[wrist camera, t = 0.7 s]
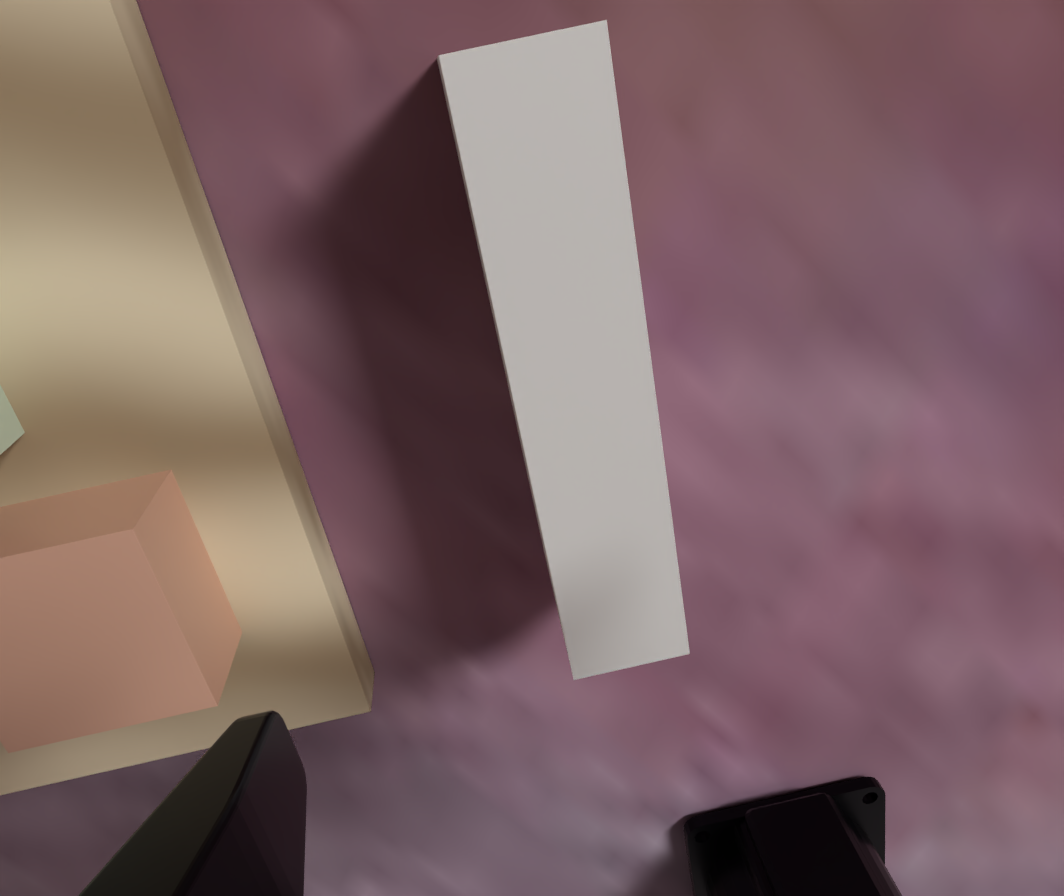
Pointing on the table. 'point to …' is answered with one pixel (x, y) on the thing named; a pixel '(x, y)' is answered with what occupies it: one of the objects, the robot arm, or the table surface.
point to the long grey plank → (572, 333)
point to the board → (150, 371)
